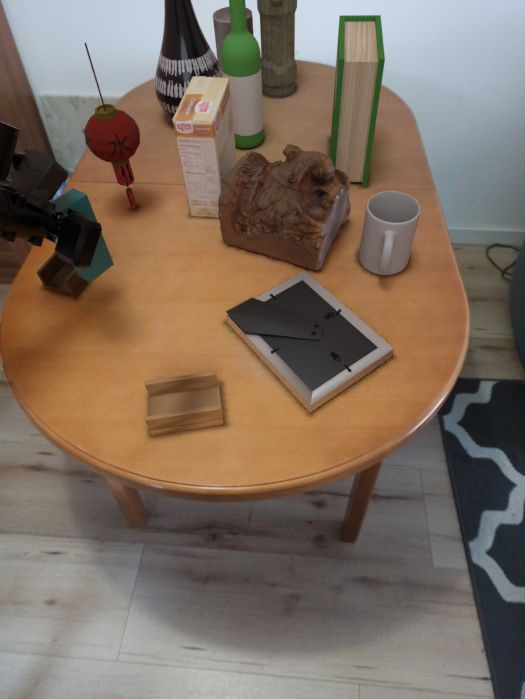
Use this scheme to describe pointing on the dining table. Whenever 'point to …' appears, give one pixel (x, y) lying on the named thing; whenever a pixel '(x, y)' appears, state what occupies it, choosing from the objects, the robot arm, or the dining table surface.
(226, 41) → the bottle
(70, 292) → the rack
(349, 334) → the picture frame
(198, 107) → the coffeecake box
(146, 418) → the stand
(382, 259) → the mug
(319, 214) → the sculpture
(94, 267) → the teal rectangular block
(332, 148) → the hardback book
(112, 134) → the lantern
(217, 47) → the pillar candle
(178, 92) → the vase
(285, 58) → the thermos
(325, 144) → the dining table surface
